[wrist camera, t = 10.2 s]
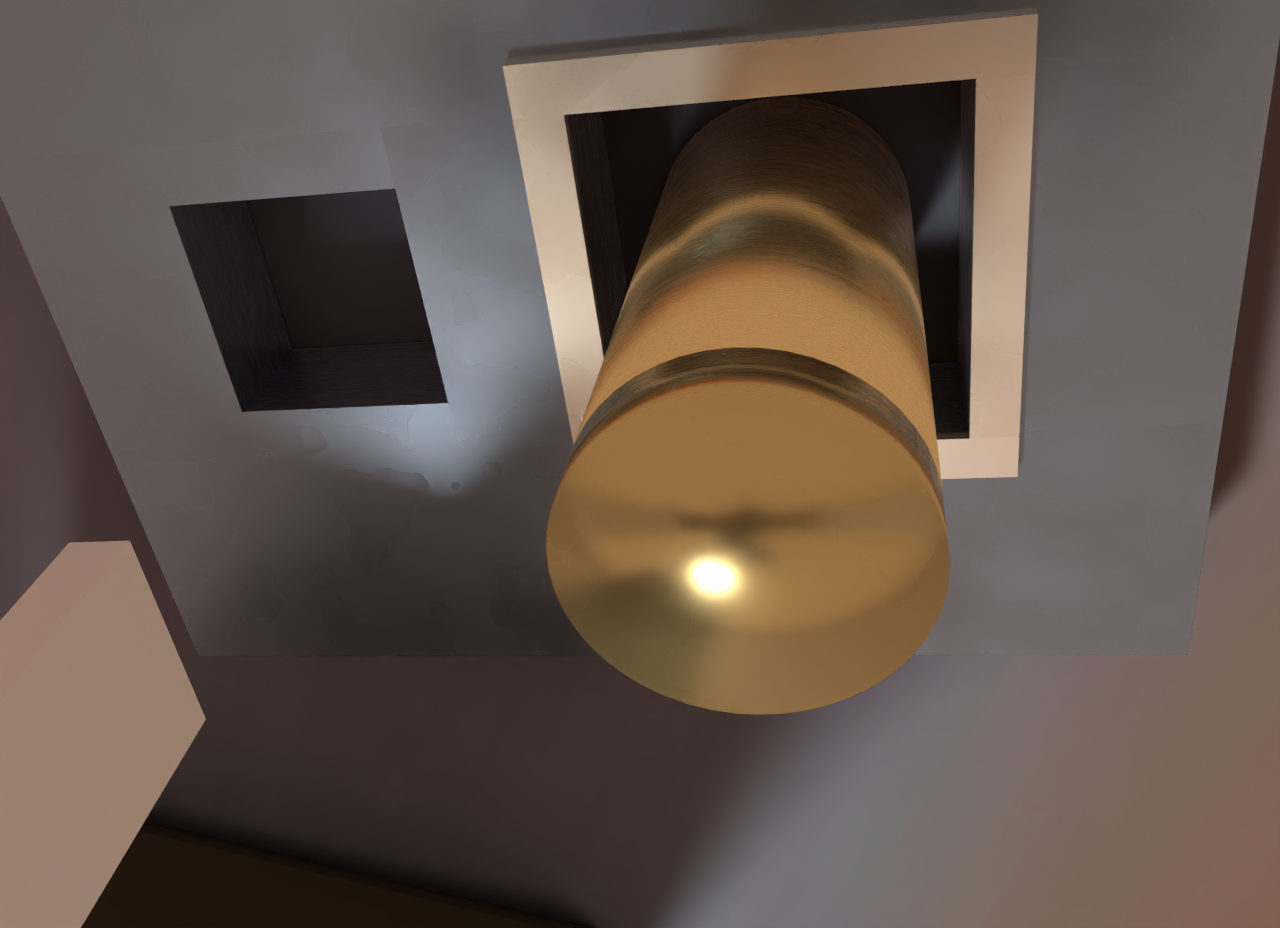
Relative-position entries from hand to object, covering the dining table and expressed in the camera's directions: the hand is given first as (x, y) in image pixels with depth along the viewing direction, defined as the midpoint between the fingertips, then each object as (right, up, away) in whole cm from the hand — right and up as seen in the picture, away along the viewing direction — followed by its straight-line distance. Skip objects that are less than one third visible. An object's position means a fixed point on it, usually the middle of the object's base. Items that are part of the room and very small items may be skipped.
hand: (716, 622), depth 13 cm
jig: (-1, +6, +9) cm, 11 cm away
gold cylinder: (+2, +6, +8) cm, 11 cm away
